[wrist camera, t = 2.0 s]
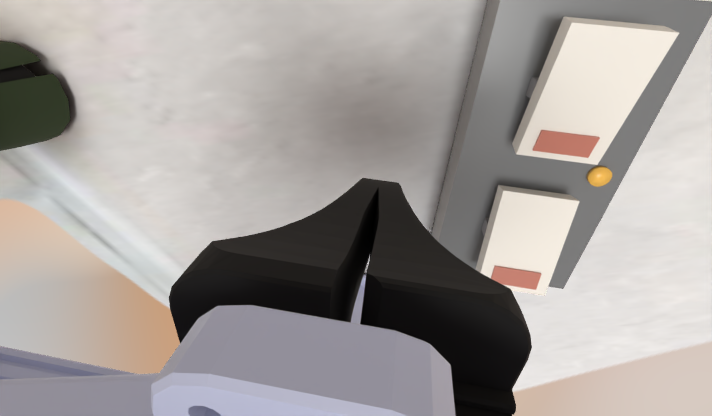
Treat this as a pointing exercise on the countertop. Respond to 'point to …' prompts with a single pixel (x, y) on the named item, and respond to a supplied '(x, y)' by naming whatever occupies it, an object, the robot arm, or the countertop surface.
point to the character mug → (28, 101)
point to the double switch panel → (509, 102)
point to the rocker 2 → (589, 87)
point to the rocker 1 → (525, 237)
